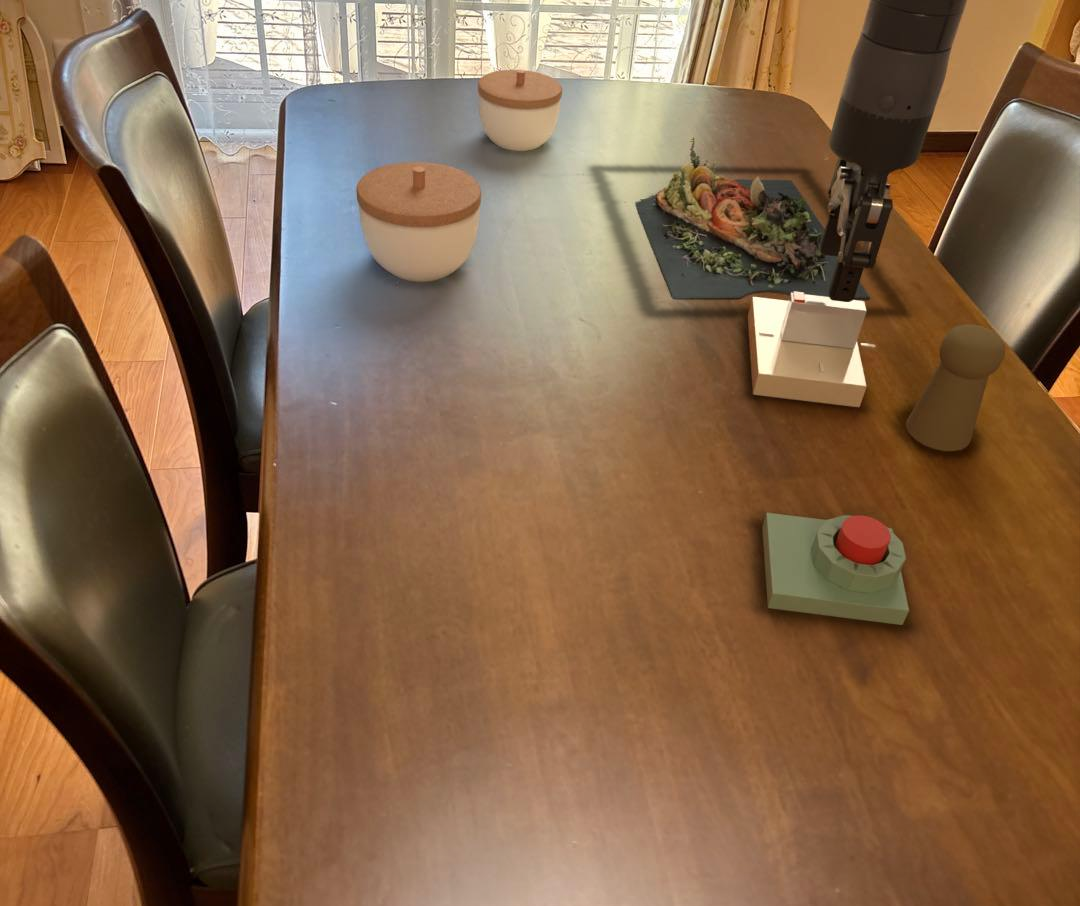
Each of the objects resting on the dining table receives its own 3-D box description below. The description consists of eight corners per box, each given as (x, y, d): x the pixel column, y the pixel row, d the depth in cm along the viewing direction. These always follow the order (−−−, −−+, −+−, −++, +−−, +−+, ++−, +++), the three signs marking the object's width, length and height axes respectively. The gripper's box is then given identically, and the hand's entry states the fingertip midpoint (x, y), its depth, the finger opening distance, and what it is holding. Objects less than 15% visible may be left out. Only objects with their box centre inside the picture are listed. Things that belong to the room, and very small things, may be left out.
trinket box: (512, 169, 130) (516, 93, 123) (460, 139, 135) (460, 65, 128) (574, 149, 135) (580, 76, 129) (521, 122, 140) (525, 50, 134)
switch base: (857, 334, 106) (866, 308, 104) (874, 414, 96) (885, 387, 94) (746, 321, 106) (752, 294, 104) (751, 399, 96) (758, 371, 94)
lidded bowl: (338, 259, 110) (331, 159, 103) (435, 230, 116) (435, 134, 109) (403, 311, 103) (400, 208, 96) (502, 278, 110) (507, 179, 102)
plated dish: (591, 173, 130) (598, 115, 125) (799, 177, 135) (814, 121, 129) (650, 324, 105) (662, 260, 100) (904, 322, 110) (927, 261, 105)
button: (880, 535, 78) (887, 518, 77) (886, 568, 76) (894, 551, 74) (833, 529, 78) (839, 512, 77) (838, 561, 76) (844, 545, 74)
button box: (884, 547, 83) (899, 511, 80) (900, 630, 76) (917, 593, 73) (760, 532, 83) (771, 495, 80) (765, 613, 76) (778, 576, 74)
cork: (962, 420, 96) (1006, 318, 89) (975, 460, 92) (1024, 357, 84) (897, 413, 96) (937, 311, 89) (908, 453, 92) (950, 349, 84)
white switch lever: (852, 339, 100) (865, 298, 97) (854, 349, 98) (867, 308, 95) (780, 330, 100) (791, 290, 97) (781, 340, 99) (792, 299, 96)
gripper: (951, 136, 78) (886, 321, 89) (921, 71, 88) (866, 244, 99) (852, 125, 78) (800, 311, 89) (834, 61, 88) (789, 235, 100)
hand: (835, 275), depth 94 cm, fingers open, 8 cm apart
